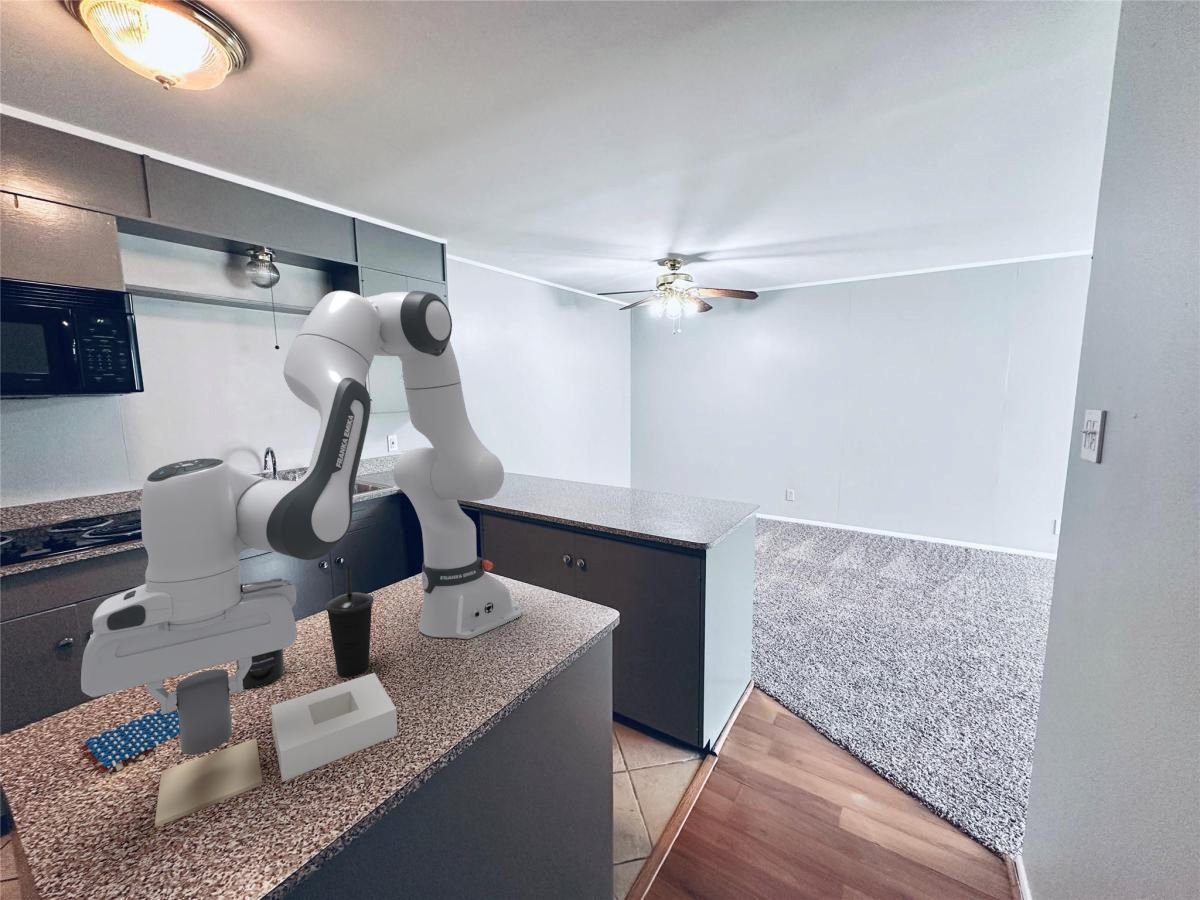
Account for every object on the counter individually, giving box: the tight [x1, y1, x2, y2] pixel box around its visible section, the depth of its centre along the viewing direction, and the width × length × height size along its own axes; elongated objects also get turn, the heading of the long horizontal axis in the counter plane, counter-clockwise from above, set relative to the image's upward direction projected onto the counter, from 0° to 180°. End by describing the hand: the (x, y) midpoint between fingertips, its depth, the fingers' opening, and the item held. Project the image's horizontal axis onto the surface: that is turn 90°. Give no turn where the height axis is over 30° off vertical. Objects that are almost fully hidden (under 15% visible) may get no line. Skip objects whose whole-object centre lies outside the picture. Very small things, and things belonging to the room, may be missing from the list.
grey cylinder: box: [175, 668, 233, 756], centre depth 61 cm, size 5×5×8 cm
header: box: [270, 672, 398, 782], centre depth 71 cm, size 14×12×5 cm
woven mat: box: [80, 708, 180, 778], centre depth 70 cm, size 10×11×2 cm
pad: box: [154, 737, 263, 828], centre depth 62 cm, size 10×10×2 cm
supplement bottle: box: [235, 648, 285, 689], centre depth 86 cm, size 7×7×12 cm
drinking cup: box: [324, 565, 375, 678], centre depth 87 cm, size 8×8×20 cm
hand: (204, 700), depth 61 cm, fingers closed on grey cylinder, 5 cm apart
